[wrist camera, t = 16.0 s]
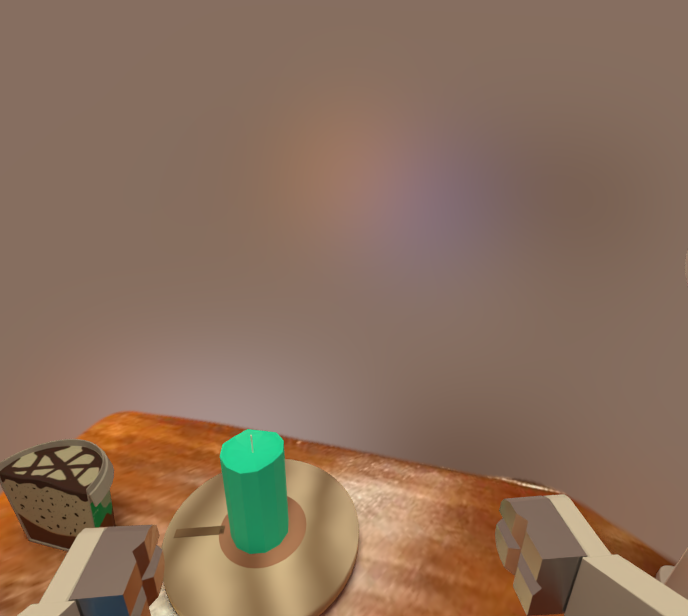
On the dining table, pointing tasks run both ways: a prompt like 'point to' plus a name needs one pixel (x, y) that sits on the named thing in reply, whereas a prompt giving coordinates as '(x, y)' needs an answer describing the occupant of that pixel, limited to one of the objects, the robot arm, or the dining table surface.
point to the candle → (255, 490)
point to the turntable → (262, 568)
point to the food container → (59, 490)
